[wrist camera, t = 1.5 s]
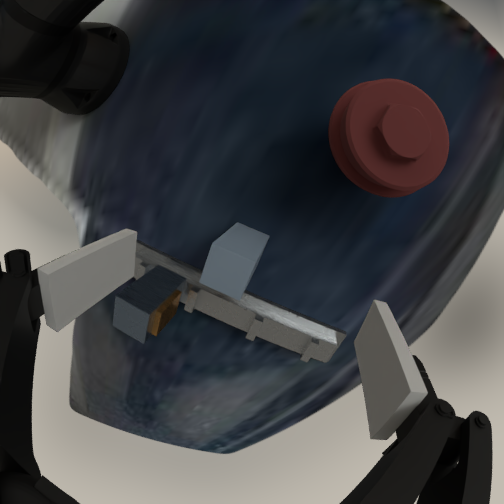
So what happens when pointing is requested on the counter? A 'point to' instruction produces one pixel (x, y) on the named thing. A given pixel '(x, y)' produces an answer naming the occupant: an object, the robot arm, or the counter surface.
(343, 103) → the mechanical component
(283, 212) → the counter surface
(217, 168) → the counter surface
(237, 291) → the pale blue-grey block
